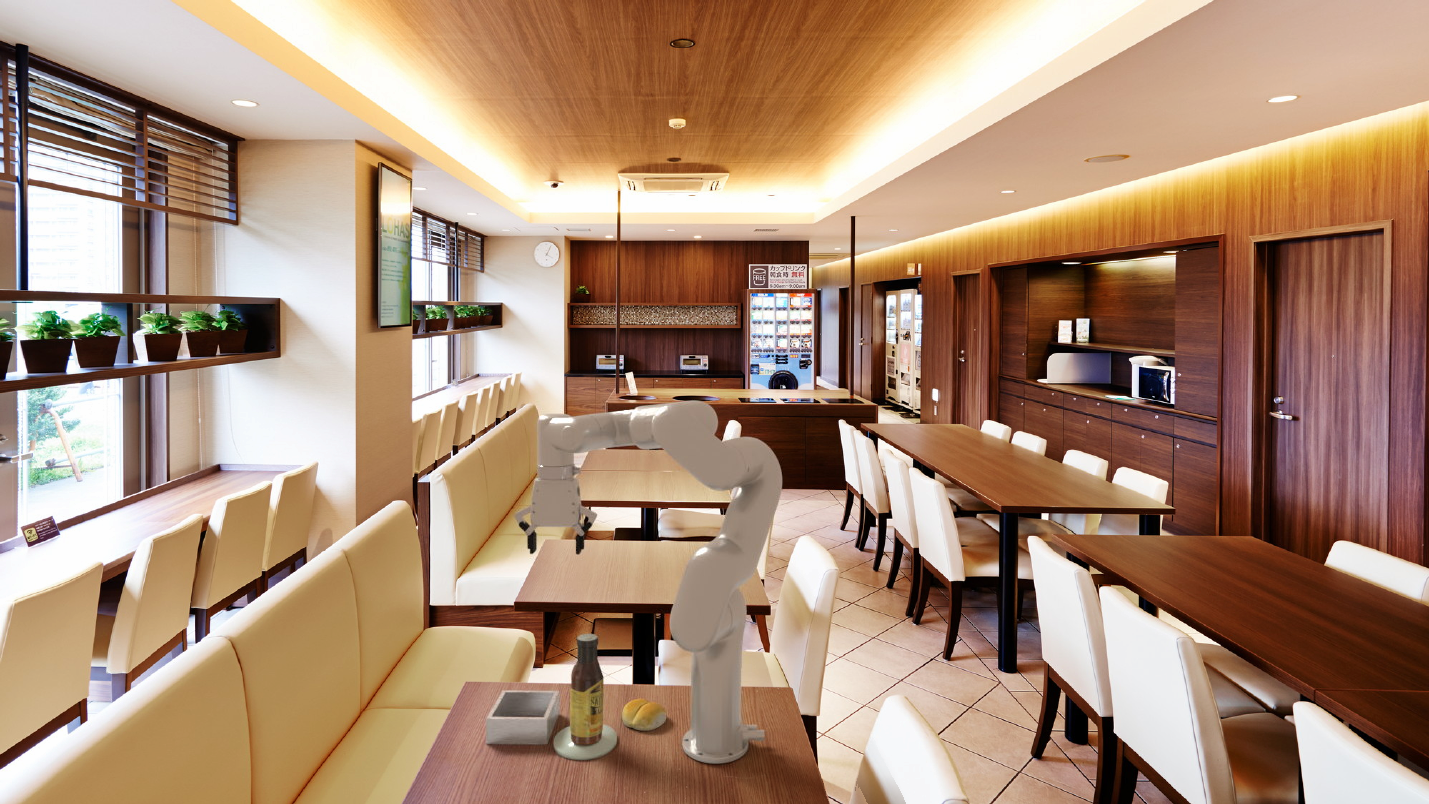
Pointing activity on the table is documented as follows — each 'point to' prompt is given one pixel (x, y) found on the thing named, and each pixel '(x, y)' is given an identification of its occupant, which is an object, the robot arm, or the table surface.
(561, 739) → the saucer
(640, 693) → the table surface
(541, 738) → the square storage bin
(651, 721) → the bread roll
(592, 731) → the sauce bottle
